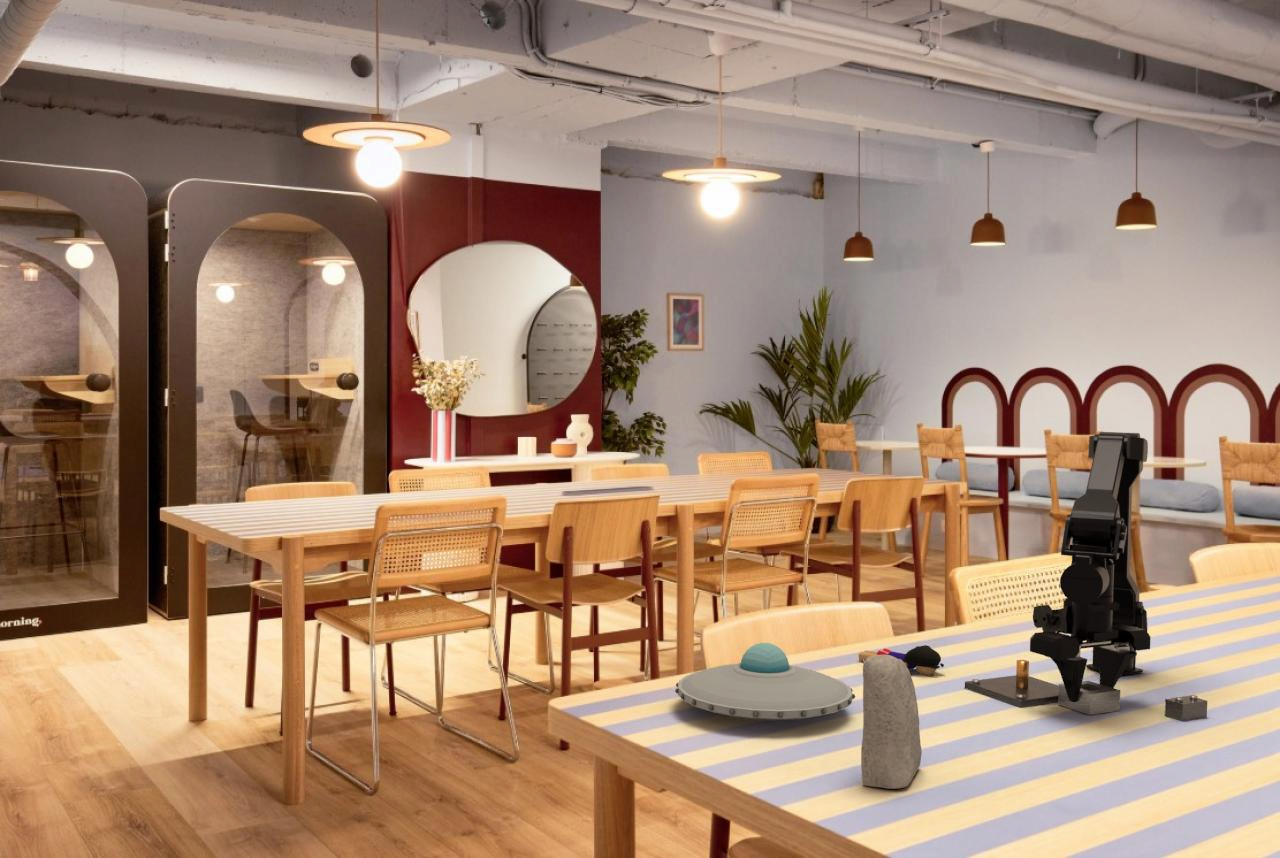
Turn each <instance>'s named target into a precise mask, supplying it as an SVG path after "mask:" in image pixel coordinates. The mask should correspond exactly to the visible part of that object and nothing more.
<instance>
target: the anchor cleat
mask: <svg viewBox="0 0 1280 858" xmlns="http://www.w3.org/2000/svg"><path fill="white" fill-rule="evenodd" d="M1164 702H1165V704H1164V716H1165V717H1168V718H1171V719H1175V720H1177V721H1181V722H1185V721H1192V720H1196V719H1197V720H1198V719H1205V718H1207V717H1208V700H1206V699H1202V698H1199V697H1198V695H1194V694H1189V695H1184V696H1176V697H1171V698H1165V701H1164Z"/></svg>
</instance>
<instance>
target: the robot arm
mask: <svg viewBox="0 0 1280 858" xmlns="http://www.w3.org/2000/svg"><path fill="white" fill-rule="evenodd" d="M1088 438H1089V439H1088V455H1087V456H1088V457H1087V458H1088V459H1090V460H1092V462H1091V467H1090V471H1089V472H1090V473H1089V476H1088V480H1087V481H1088V482H1087V486H1086V490H1085V492H1084V494H1083V495H1082V496H1080V497H1078V498H1077V499H1075V500H1074V503H1073V505H1072V508H1071V512H1070V513H1069V514H1067V515H1066V518H1065V526H1064V532H1063V537H1062V543H1061V549H1060V555H1061V556H1068V557H1071V563H1070V565H1068V566H1067V567H1066V568H1065V569H1064V571H1063V572H1061V573H1062V574H1061V576H1060V578H1059V579H1060V580H1059V586H1060V589H1061V592H1062V594H1063V595H1064V596H1065V599H1064V600H1063V605H1062V608H1055V609H1053V608H1052V607H1051V606H1050V605H1049V604H1043V605H1042V604H1041V605H1037V606H1034V607H1033V612H1032V620H1033V625H1034V627H1035V628H1037V629H1038V628H1039V629H1040V628H1041V630H1042V631H1041V632H1035V633H1034V634H1032V636H1031V637H1030V641H1029V652H1031V653H1033V654H1038V655H1041V656H1045V657H1047V658H1050V659H1051V660H1052V662H1054V663H1055V665H1056V666H1057V668H1058V671H1059V673H1060V676H1061V680H1062V684H1064V686H1065V689H1066V692H1067V695H1068V698H1069V700H1070V701H1072V702H1076V701H1077V699H1078V696H1079V693H1080V689H1081V684H1082V681H1084V676H1085V673H1086V672H1085V671H1086V669H1090V670H1093V671H1096V672H1099V684H1101V685H1105V686H1108V687H1111V688H1115V687H1116V685H1117V683H1118V681H1119V679H1120V678H1121V677H1122V676H1126V675H1134V674H1142V673H1144V669H1142V668H1139V667H1136V662H1137V661H1136V660H1137V659H1136V658H1137V656H1138V652H1137V651H1147V650H1150V649H1151V635H1150V634H1149V633H1148V614H1147V613H1148V612H1147V610H1146V609H1145V607H1144V602H1143V601H1140V588H1139V586H1138V585H1137V583H1136V581H1135V580H1134V578H1133V577H1132V574H1131V571H1130V570H1131V569H1130V568H1131V543H1132V542H1131V537H1132V533H1131V532H1132V503H1133V502H1132V499H1133V497H1132V495H1133V485H1134V484H1135V482H1136V481H1137V479H1138V477H1139V476H1140V475H1141V473H1142V472H1143V470H1144V463H1146V462H1148V454H1149V453H1148V452H1149V451H1148V450H1149V444H1148V440H1147V439H1146V438H1144V437H1141V434H1140V433H1139V432H1115V431H1113V432H1112V431H1110V432H1109V431H1100V432H1099V433H1098V434H1097V433H1096V434H1094V435H1089V436H1088ZM1071 541H1072V542H1071ZM1089 648H1090V649H1092V663H1089V664H1087V663H1088V658H1084V657H1081V649H1089Z"/></svg>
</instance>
